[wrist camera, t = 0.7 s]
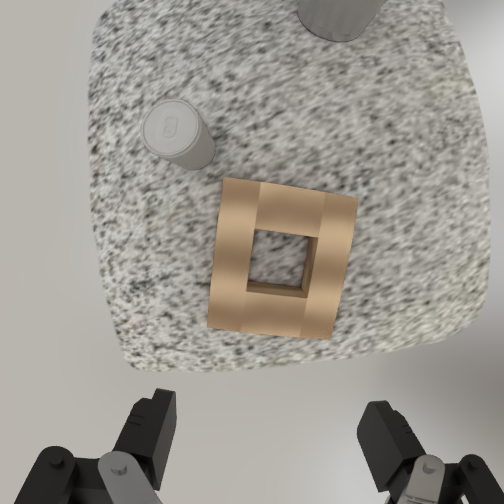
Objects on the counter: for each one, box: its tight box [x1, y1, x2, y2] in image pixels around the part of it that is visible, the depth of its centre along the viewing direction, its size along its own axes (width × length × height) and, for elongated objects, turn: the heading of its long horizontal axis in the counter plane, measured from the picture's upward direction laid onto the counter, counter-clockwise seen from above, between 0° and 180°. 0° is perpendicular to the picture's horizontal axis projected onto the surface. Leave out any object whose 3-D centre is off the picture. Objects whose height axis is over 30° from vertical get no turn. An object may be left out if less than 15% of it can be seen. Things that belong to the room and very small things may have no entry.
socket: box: [207, 177, 358, 340], centre depth 32 cm, size 16×14×4 cm
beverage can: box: [141, 99, 216, 170], centre depth 26 cm, size 5×5×12 cm
